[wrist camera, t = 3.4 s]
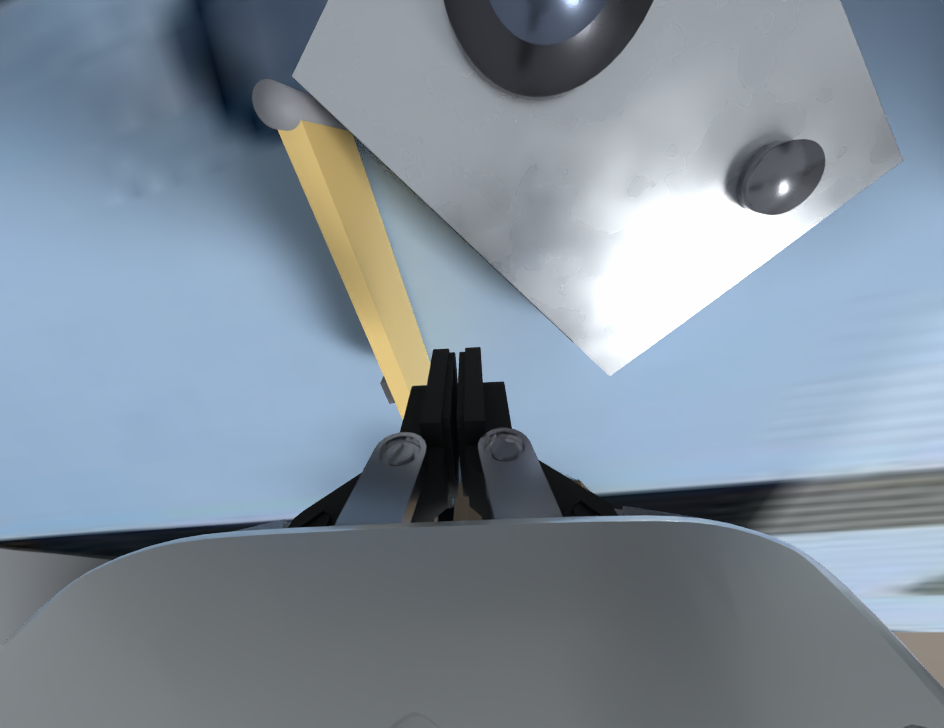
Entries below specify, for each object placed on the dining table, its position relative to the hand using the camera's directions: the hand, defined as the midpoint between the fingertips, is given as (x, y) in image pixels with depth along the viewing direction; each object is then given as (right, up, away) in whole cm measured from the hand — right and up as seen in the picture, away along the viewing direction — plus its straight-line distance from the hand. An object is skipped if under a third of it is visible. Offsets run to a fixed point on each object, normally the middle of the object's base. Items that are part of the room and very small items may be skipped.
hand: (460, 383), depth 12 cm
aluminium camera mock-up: (+5, +13, +5) cm, 15 cm away
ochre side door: (-5, +7, +9) cm, 12 cm away
